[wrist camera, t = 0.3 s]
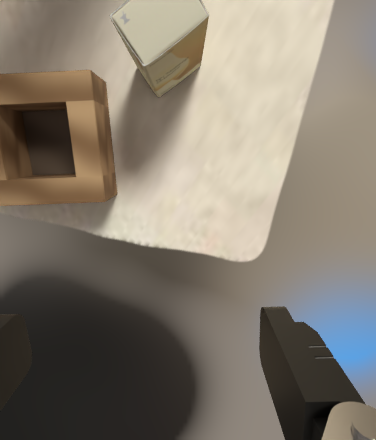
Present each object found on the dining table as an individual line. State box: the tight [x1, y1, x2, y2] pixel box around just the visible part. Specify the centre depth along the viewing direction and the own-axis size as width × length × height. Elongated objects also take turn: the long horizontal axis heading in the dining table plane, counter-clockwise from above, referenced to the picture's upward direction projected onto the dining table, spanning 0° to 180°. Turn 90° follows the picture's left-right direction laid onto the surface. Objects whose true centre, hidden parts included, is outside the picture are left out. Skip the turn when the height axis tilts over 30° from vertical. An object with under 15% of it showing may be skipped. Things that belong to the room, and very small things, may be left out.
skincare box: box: [110, 0, 209, 97], centre depth 26 cm, size 6×4×12 cm
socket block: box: [0, 70, 117, 206], centre depth 32 cm, size 13×13×5 cm
